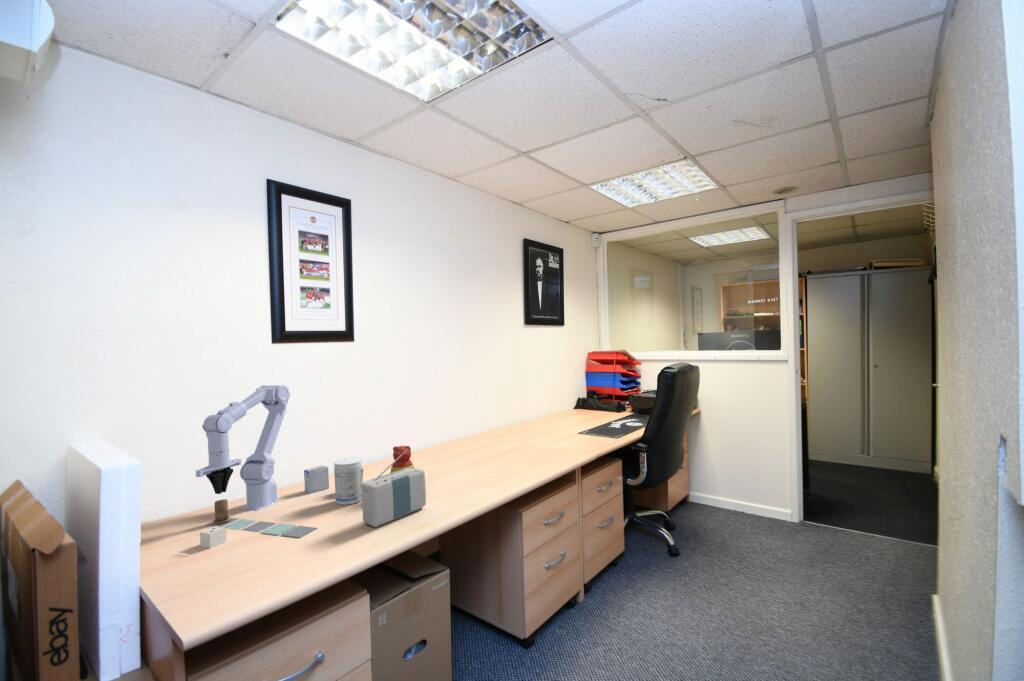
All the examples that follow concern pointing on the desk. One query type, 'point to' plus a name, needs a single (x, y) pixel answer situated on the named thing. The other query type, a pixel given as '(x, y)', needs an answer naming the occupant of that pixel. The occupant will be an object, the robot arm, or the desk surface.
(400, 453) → the stacking bear
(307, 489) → the medicine box
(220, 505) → the pawn
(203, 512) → the desk surface
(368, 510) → the stereo radio cassette player
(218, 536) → the die
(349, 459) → the supplement tub
